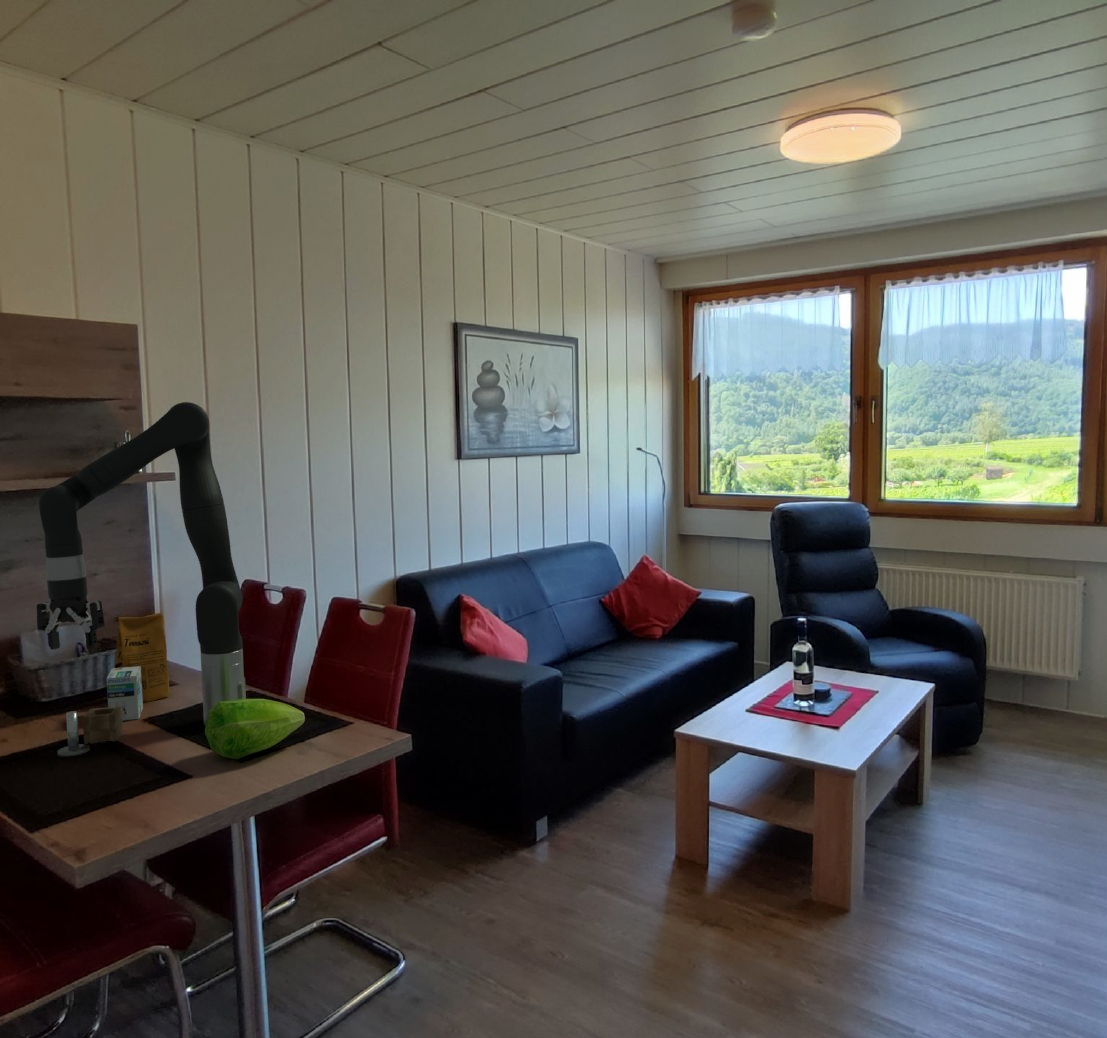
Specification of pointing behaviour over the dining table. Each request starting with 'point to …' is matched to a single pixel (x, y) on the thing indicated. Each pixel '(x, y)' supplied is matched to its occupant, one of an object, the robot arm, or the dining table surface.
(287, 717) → the lettuce
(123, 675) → the light bulb box
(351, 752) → the dining table surface
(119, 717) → the collar
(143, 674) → the coffee package
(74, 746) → the post
